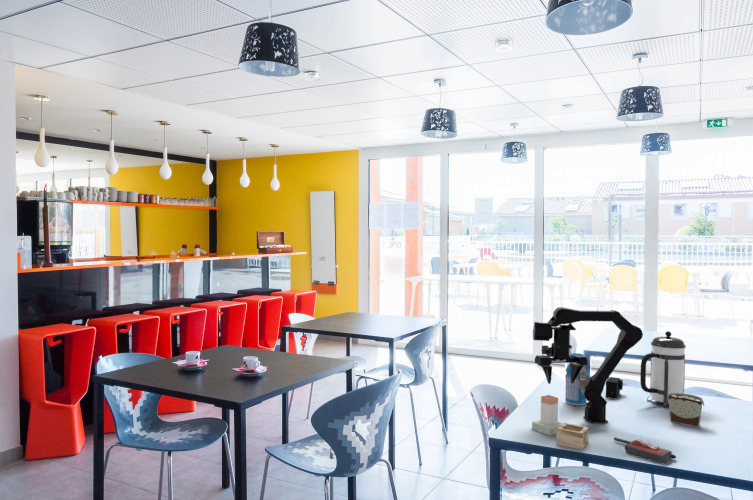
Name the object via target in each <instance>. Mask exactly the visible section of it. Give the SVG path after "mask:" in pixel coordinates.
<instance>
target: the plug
mask: <svg viewBox="0 0 753 500" xmlns="http://www.w3.org/2000/svg"><path fill="white" fill-rule="evenodd" d="M558 411H559V397H556V396H554V395H550V394H548V395H542V396H540V420H541V424H544V425H547V426H554V425H558V422H559V421H558V420H559V419H558V418H559V416H558V415H559V412H558Z"/></svg>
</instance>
